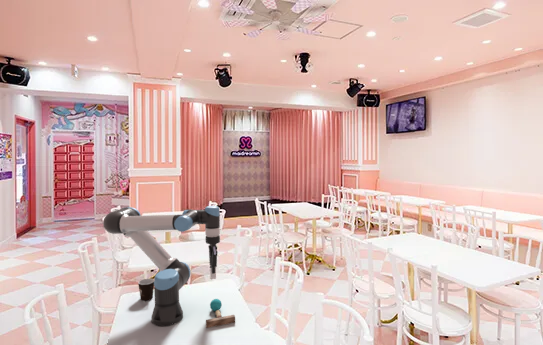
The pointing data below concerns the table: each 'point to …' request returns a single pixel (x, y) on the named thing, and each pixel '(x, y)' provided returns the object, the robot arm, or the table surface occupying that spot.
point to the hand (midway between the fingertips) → (213, 278)
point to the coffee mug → (146, 289)
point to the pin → (218, 313)
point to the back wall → (220, 321)
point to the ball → (215, 304)
